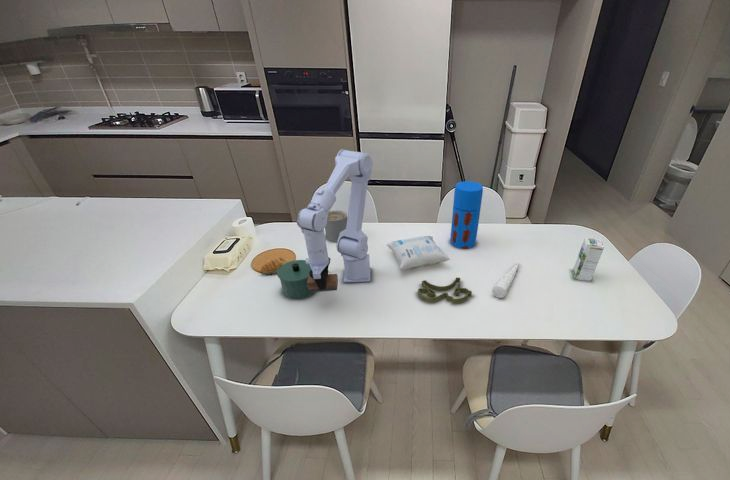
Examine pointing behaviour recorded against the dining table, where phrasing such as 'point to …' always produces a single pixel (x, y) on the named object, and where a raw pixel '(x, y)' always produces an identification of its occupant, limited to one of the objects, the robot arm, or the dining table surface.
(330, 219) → the coffee mug
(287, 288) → the pot
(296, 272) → the pot lid
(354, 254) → the robot arm
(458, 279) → the cookie cutter
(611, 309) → the dining table surface
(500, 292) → the unicorn horn
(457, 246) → the thermos
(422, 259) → the pouch
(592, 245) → the syrup box
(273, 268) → the pastry
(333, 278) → the brown rectangular block
